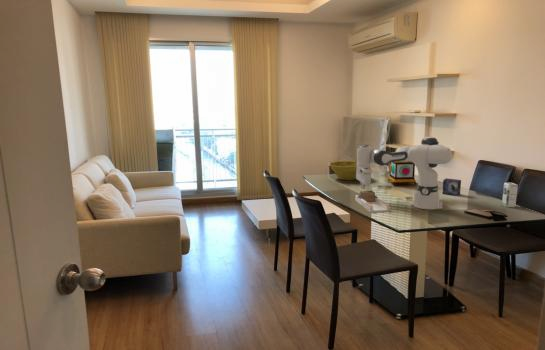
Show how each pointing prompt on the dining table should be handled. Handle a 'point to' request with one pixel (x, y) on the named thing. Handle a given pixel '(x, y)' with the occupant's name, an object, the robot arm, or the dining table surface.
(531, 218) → the dining table surface
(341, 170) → the planter bowl
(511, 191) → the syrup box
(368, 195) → the walnut block
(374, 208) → the grey chute
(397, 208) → the dining table surface
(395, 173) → the decorative lantern
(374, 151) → the robot arm
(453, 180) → the small box
